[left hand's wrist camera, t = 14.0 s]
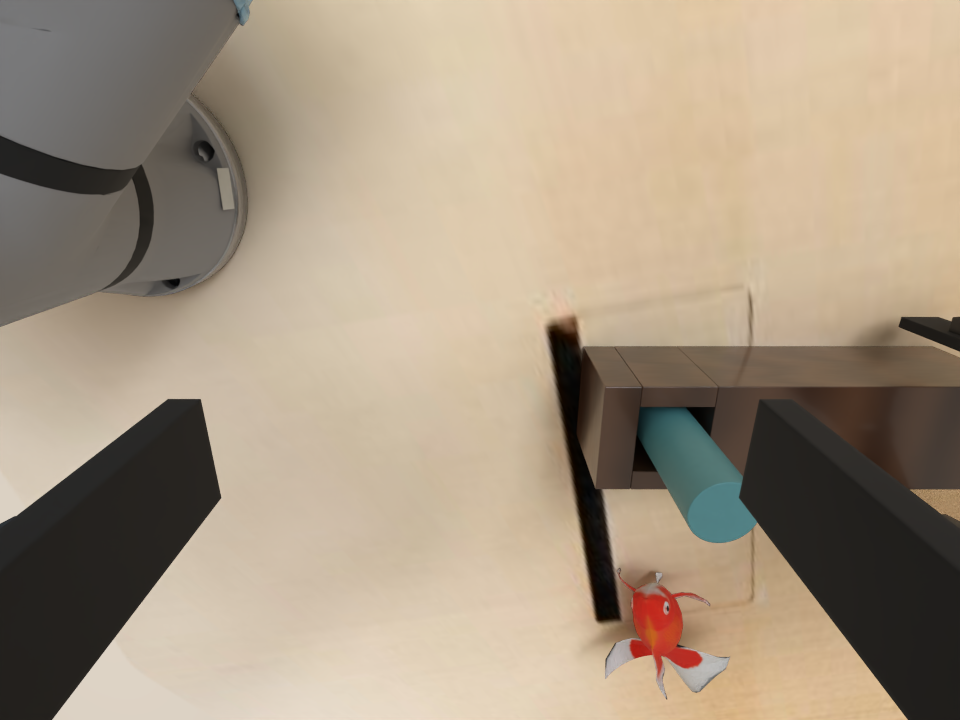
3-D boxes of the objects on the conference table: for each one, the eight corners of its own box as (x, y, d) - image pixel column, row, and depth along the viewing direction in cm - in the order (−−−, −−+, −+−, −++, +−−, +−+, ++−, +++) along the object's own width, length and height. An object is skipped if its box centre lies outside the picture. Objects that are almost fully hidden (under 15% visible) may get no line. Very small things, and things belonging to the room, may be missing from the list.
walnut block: (576, 434, 45) (595, 489, 38) (582, 346, 42) (605, 386, 35) (904, 434, 45) (988, 489, 38) (932, 346, 42) (1030, 386, 35)
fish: (754, 566, 44) (758, 701, 38) (715, 626, 55) (714, 738, 49) (622, 536, 47) (605, 655, 41) (611, 599, 58) (597, 700, 52)
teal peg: (610, 407, 43) (673, 528, 29) (635, 366, 42) (714, 471, 28) (652, 426, 44) (733, 553, 30) (678, 386, 42) (777, 498, 28)
